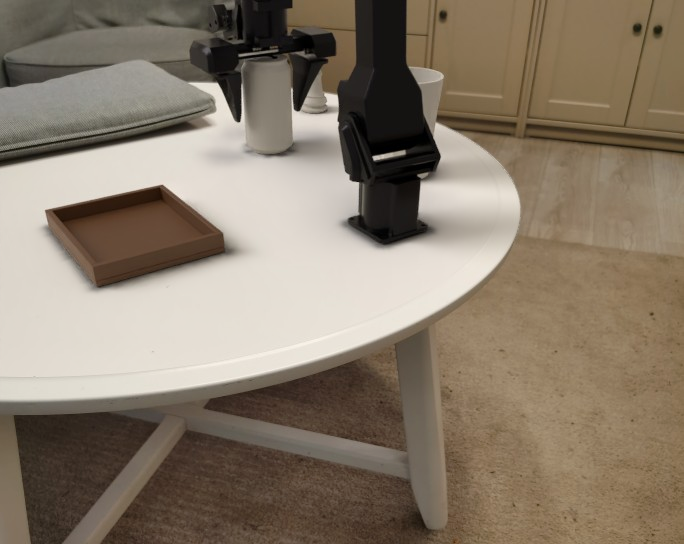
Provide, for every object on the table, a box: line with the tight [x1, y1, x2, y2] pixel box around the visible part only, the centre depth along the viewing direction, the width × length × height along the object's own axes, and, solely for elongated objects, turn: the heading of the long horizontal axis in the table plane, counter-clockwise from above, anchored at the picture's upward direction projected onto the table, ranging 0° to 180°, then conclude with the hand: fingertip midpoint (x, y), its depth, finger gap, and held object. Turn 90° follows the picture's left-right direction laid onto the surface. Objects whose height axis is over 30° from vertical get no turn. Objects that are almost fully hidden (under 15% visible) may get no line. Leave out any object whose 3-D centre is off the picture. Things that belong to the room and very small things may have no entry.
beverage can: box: [240, 54, 294, 155], centre depth 94 cm, size 6×6×12 cm
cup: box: [379, 66, 445, 180], centre depth 88 cm, size 8×8×12 cm
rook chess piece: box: [301, 69, 329, 114], centre depth 111 cm, size 4×4×8 cm
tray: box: [44, 184, 226, 288], centre depth 73 cm, size 15×13×2 cm
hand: (267, 116), depth 95 cm, fingers open, 9 cm apart
